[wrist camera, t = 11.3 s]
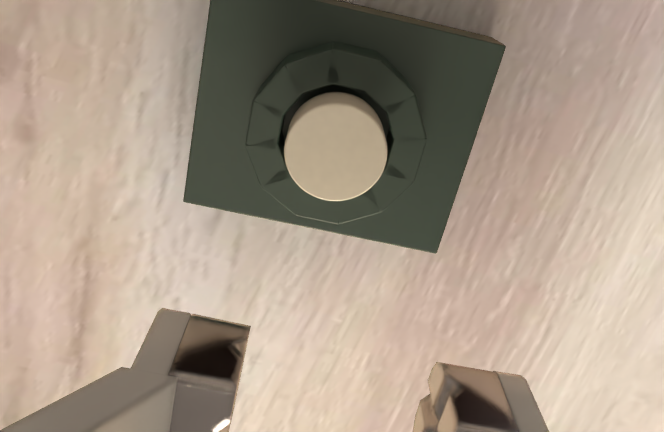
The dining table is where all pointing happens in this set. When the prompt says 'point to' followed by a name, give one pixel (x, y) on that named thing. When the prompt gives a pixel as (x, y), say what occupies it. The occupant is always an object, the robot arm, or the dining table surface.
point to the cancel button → (335, 146)
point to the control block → (337, 76)
